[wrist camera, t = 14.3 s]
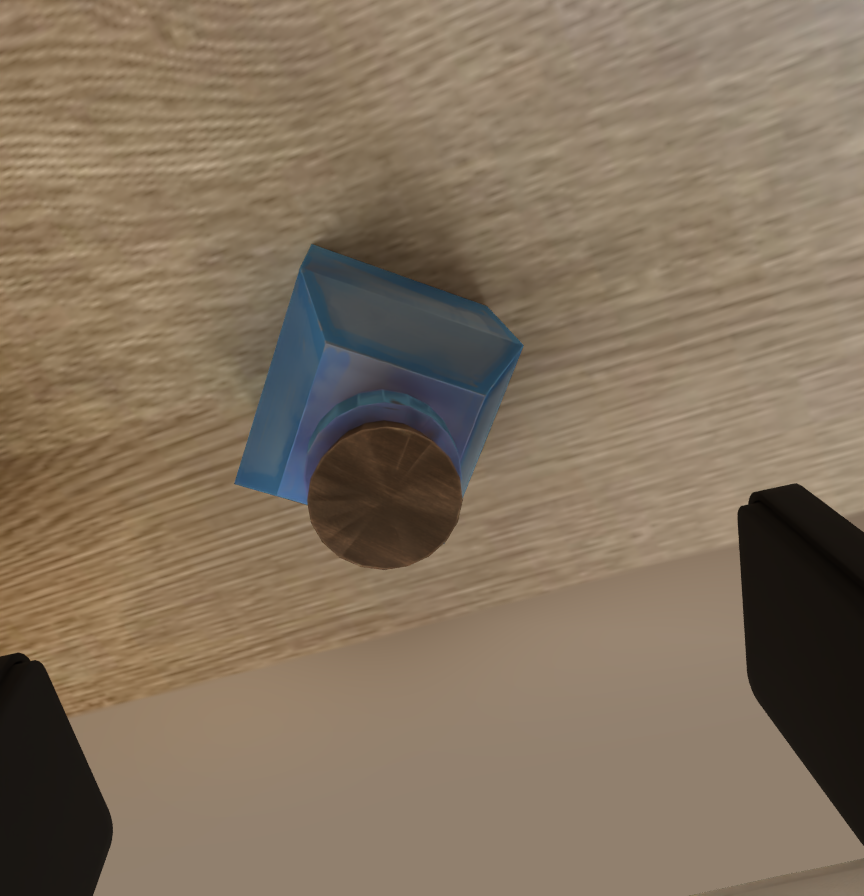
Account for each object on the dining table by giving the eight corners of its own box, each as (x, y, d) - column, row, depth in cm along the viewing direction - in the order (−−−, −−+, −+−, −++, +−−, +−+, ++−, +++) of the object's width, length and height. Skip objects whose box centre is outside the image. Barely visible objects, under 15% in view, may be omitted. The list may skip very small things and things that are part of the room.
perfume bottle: (258, 416, 28) (195, 590, 17) (311, 243, 26) (280, 306, 15) (425, 467, 29) (472, 661, 18) (487, 306, 27) (582, 408, 16)
